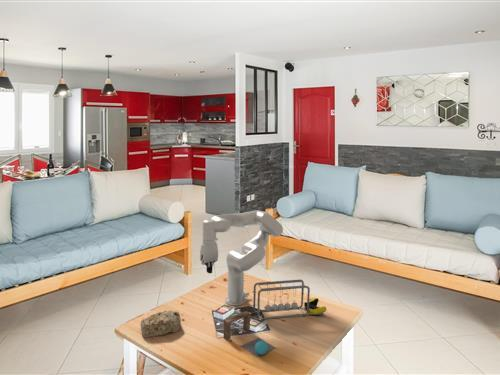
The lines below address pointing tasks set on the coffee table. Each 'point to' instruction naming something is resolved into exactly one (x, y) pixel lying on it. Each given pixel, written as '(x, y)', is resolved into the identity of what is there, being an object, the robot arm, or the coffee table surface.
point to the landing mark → (251, 346)
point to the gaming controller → (314, 307)
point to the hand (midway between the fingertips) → (209, 272)
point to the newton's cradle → (281, 306)
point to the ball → (261, 347)
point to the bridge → (228, 321)
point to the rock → (161, 323)
